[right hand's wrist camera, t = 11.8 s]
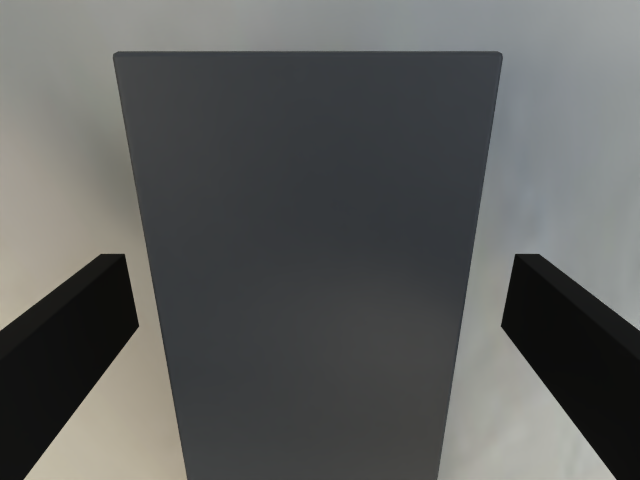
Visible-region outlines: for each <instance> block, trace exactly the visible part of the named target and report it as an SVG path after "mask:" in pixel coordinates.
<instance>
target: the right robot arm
mask: <svg viewBox="0 0 640 480" xmlns="http://www.w3.org/2000/svg"><path fill="white" fill-rule="evenodd" d="M138 327H139V323H138V318H137V313H136V308H135V303H134V298H133V293H132V288H131V283H130V278H129V273H128V268H127V263H126V258H125V254H100V255H99V256H98V257H96V258H95V259H94V260H92V261H91V262H90V263H89V264H87V265H86V266H85V267H83V268H82V269H81V270H79V271H78V272H77V273H75V274H74V275H73V276H72V277H70V278H69V279H68V280H66V281H65V282H64V283H62V284H61V285H60V286H58V287H57V288H56V289H55V290H53V291H52V292H51V293H49V294H48V295H47V296H45V297H44V298H43V299H41V300H40V301H39V302H38V303H36V304H35V305H34V306H32V307H31V308H30V309H28V310H27V311H26V312H24V313H23V314H22V315H21V316H19V317H18V318H17V319H15V320H14V321H13V322H11V323H10V324H9V325H7V326H6V327H5V328H4V329H2V330H1V331H0V480H24V478H25V477H26V476H27V474H28V473H29V472H30V470H31V469H32V468H33V466H34V465H35V464H36V462H37V461H38V460H39V458H40V457H41V456H42V454H43V453H44V452H45V450H46V449H47V448H48V446H49V445H50V444H51V442H52V441H53V440H54V438H55V437H56V436H57V435H58V433H59V432H60V431H61V429H62V428H63V427H64V425H65V424H66V423H67V421H68V420H69V419H70V417H71V416H72V415H73V413H74V412H75V411H76V409H77V408H78V407H79V405H80V404H81V403H82V401H83V400H84V399H85V397H86V396H87V395H88V393H89V392H90V391H91V389H92V388H93V387H94V385H95V384H96V383H97V381H98V380H99V379H100V378H101V376H102V375H103V374H104V372H105V371H106V370H107V368H108V367H109V366H110V364H111V363H112V362H113V360H114V359H115V358H116V356H117V355H118V354H119V352H120V351H121V350H122V348H123V347H124V346H125V344H126V343H127V342H128V340H129V339H130V338H131V336H132V335H133V334H134V332H135V331H136V330H137V328H138ZM501 327H502V328H503V330H504V331H505V332H506V334H507V335H508V336H509V338H510V339H511V340H512V342H513V343H514V344H515V346H516V347H517V348H518V350H519V351H520V352H521V354H522V355H523V356H524V358H525V359H526V360H527V362H528V363H529V364H530V366H531V367H532V368H533V370H534V371H535V372H536V374H537V375H538V376H539V378H540V379H541V380H542V381H543V383H544V384H545V385H546V387H547V388H548V389H549V391H550V392H551V393H552V395H553V396H554V397H555V399H556V400H557V401H558V403H559V404H560V405H561V407H562V408H563V409H564V411H565V412H566V413H567V415H568V416H569V417H570V419H571V420H572V421H573V423H574V424H575V425H576V427H577V428H578V429H579V431H580V432H581V433H582V434H583V436H584V437H585V438H586V440H587V441H588V442H589V444H590V445H591V446H592V448H593V449H594V450H595V452H596V453H597V454H598V456H599V457H600V458H601V460H602V461H603V462H604V464H605V465H606V466H607V468H608V469H609V470H610V472H611V473H612V474H613V476H614V477H615V478H616V480H640V331H639V330H638V329H636V328H635V327H634V326H633V325H631V324H630V323H629V322H627V321H626V320H625V319H623V318H622V317H621V316H619V315H618V314H617V313H616V312H614V311H613V310H612V309H610V308H609V307H608V306H606V305H605V304H604V303H602V302H601V301H600V300H599V299H597V298H596V297H595V296H593V295H592V294H591V293H589V292H588V291H587V290H585V289H584V288H583V287H582V286H580V285H579V284H578V283H576V282H575V281H574V280H572V279H571V278H570V277H568V276H567V275H566V274H565V273H563V272H562V271H561V270H559V269H558V268H557V267H555V266H554V265H553V264H551V263H550V262H549V261H548V260H546V259H545V258H544V257H542V256H541V255H540V254H515V258H514V263H513V268H512V273H511V278H510V283H509V288H508V293H507V298H506V303H505V308H504V313H503V318H502V323H501Z"/></svg>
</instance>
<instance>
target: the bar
mask: <svg viewBox="0 0 640 480" xmlns="http://www.w3.org/2000/svg"><path fill="white" fill-rule="evenodd" d="M502 60H503V56H502V53H500V52H498V51H118V52H116V53H114V54H113V61H114V67H115V73H116V78H117V84H118V90H119V95H120V101H121V106H122V112H123V118H124V123H125V129H126V135H127V140H128V146H129V152H130V157H131V163H132V169H133V174H134V180H135V186H136V191H137V197H138V203H139V208H140V214H141V220H142V225H143V231H144V237H145V242H146V248H147V254H148V259H149V265H150V271H151V276H152V282H153V288H154V293H155V299H156V304H157V310H158V316H159V321H160V327H161V333H162V338H163V344H164V350H165V355H166V361H167V367H168V372H169V378H170V384H171V389H172V395H173V401H174V406H175V412H176V418H177V423H178V429H179V435H180V440H181V446H182V452H183V457H184V463H185V469H186V474H187V480H437V477H438V471H439V464H440V458H441V451H442V445H443V438H444V432H445V426H446V419H447V413H448V406H449V400H450V393H451V387H452V381H453V374H454V368H455V361H456V355H457V349H458V342H459V336H460V329H461V323H462V316H463V310H464V304H465V297H466V291H467V284H468V278H469V271H470V265H471V259H472V252H473V246H474V239H475V233H476V227H477V220H478V214H479V207H480V201H481V194H482V188H483V182H484V175H485V169H486V162H487V156H488V149H489V143H490V137H491V130H492V124H493V117H494V111H495V104H496V98H497V92H498V85H499V79H500V72H501V66H502Z"/></svg>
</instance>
